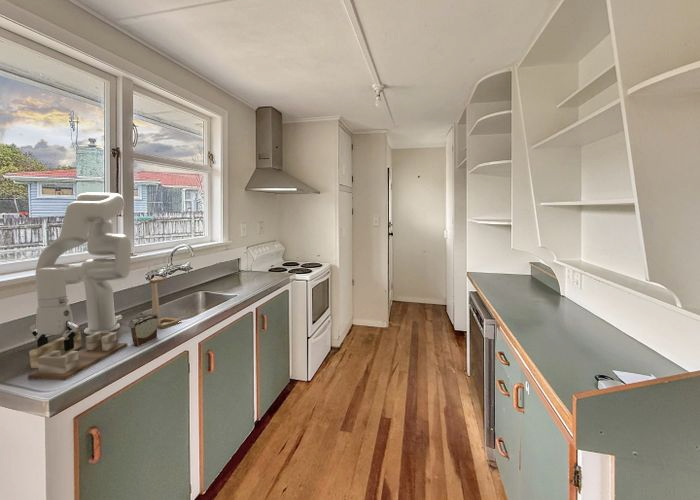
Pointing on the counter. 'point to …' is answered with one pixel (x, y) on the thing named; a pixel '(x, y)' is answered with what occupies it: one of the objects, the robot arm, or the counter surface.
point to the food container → (143, 328)
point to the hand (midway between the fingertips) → (56, 349)
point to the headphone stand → (156, 306)
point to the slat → (53, 349)
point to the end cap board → (83, 362)
